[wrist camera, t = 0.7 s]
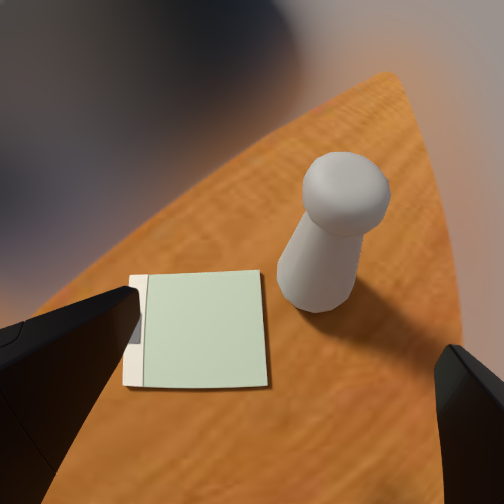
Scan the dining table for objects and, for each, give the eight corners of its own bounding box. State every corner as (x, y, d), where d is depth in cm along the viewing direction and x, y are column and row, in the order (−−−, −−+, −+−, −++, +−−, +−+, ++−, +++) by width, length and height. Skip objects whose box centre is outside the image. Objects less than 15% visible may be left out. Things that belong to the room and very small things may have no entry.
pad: (267, 385, 22) (267, 385, 21) (125, 386, 21) (122, 385, 21) (259, 271, 26) (259, 268, 25) (131, 277, 26) (129, 274, 25)
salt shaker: (352, 265, 26) (411, 154, 15) (337, 330, 24) (409, 245, 12) (285, 245, 27) (305, 122, 16) (264, 308, 24) (274, 204, 13)
